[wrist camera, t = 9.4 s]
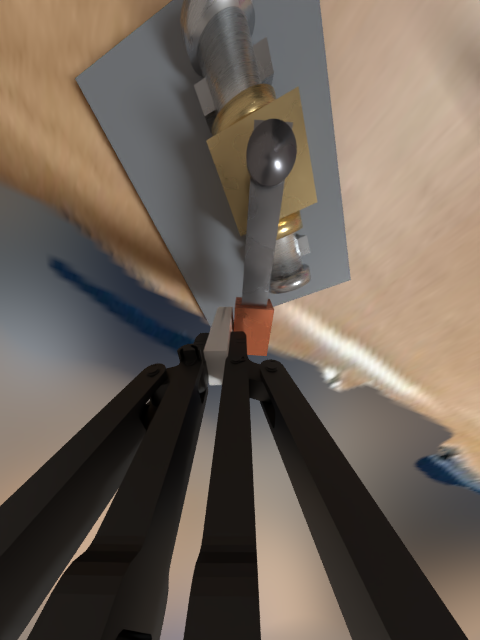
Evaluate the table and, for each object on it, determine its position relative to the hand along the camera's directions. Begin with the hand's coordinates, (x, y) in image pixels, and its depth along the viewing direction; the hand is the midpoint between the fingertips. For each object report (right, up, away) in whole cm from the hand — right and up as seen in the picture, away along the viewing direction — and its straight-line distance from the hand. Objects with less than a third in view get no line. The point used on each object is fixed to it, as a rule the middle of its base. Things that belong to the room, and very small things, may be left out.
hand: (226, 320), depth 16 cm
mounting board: (+1, +12, +2) cm, 13 cm away
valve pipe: (+3, +13, +1) cm, 13 cm away
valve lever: (+3, +5, -2) cm, 6 cm away
